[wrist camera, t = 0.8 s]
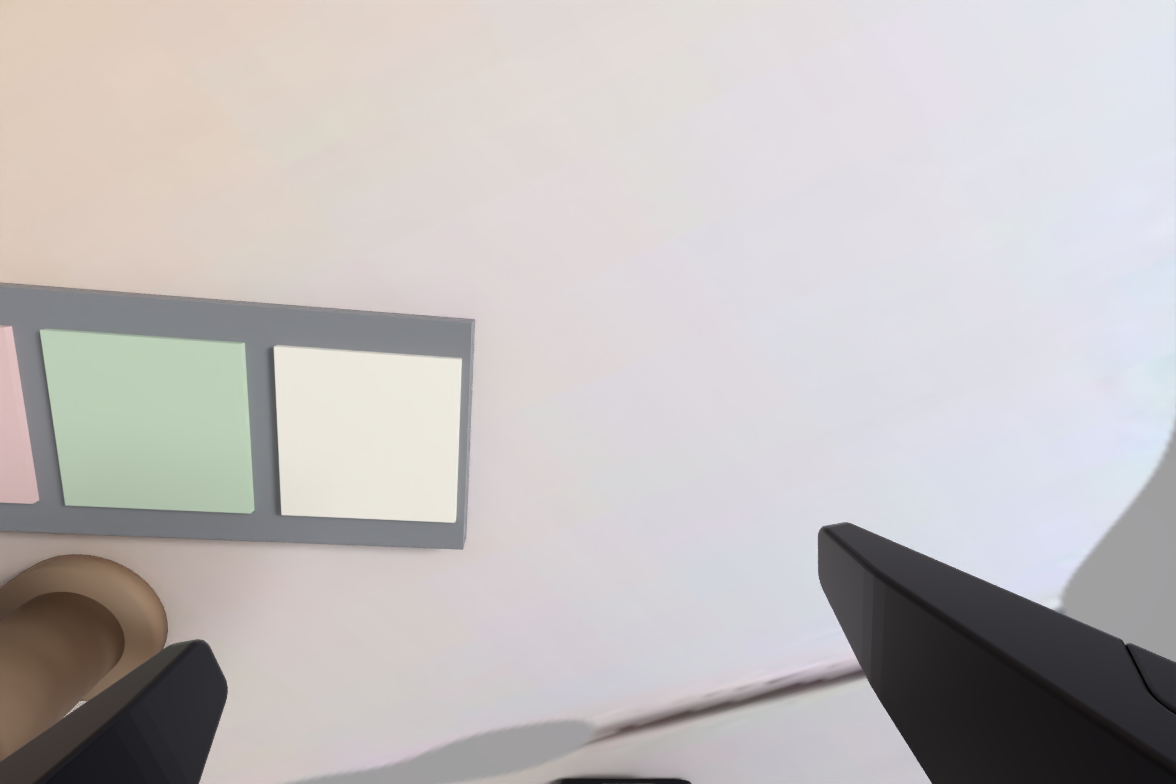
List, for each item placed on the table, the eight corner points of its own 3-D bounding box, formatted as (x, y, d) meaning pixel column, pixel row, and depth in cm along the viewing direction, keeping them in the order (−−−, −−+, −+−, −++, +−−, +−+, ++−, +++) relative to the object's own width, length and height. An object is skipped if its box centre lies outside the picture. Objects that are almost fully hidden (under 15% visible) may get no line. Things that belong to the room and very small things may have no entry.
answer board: (466, 536, 24) (461, 553, 23) (-126, 511, 22) (-167, 528, 21) (474, 319, 22) (470, 324, 20) (-184, 268, 20) (-234, 270, 18)
